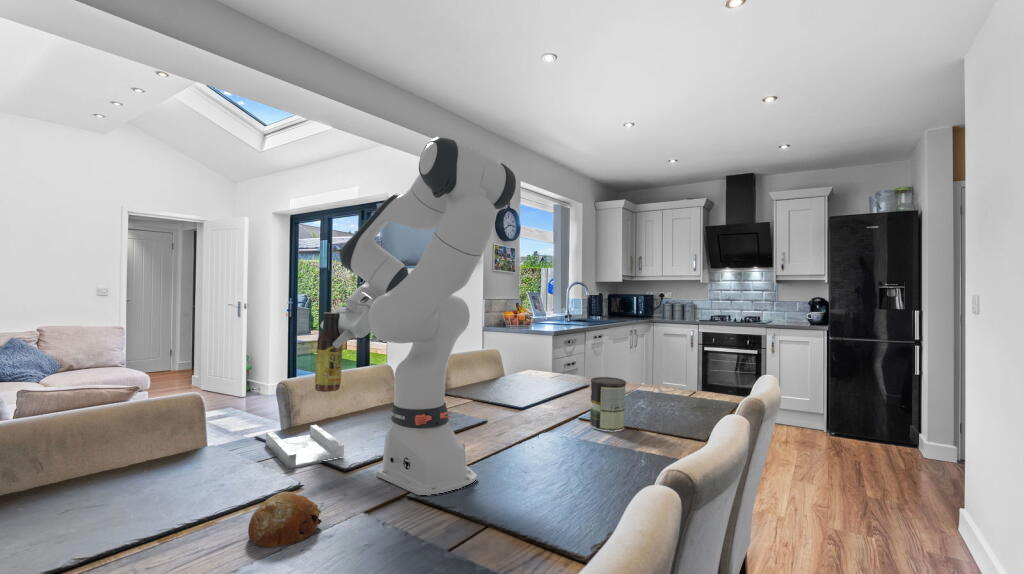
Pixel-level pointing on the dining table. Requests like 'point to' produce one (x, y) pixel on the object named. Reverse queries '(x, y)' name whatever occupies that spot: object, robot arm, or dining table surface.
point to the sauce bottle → (328, 356)
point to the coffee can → (607, 403)
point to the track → (305, 448)
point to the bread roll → (283, 520)
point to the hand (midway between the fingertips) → (327, 345)
